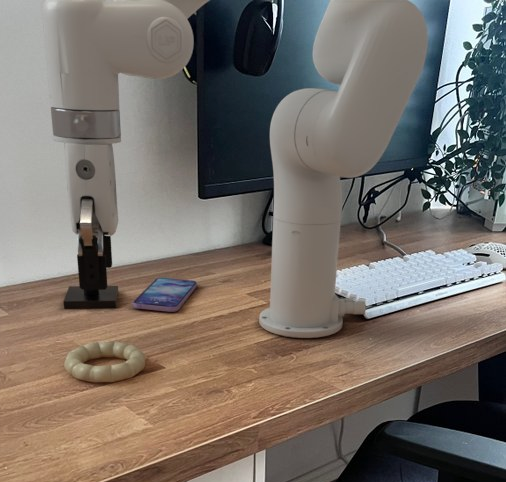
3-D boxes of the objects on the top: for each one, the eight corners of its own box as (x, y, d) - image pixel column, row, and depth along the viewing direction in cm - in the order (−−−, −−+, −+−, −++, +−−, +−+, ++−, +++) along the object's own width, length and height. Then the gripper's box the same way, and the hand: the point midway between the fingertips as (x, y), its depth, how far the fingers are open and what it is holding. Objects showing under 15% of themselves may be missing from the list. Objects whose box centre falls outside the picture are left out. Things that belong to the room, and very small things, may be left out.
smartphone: (198, 280, 119) (176, 308, 107) (198, 286, 120) (176, 313, 107) (157, 276, 120) (130, 303, 107) (157, 282, 121) (130, 309, 108)
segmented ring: (146, 352, 93) (145, 338, 92) (144, 383, 84) (143, 368, 83) (70, 354, 92) (68, 340, 91) (61, 386, 83) (59, 370, 82)
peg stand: (118, 292, 116) (115, 249, 112) (115, 308, 109) (112, 262, 105) (69, 293, 115) (64, 249, 111) (64, 308, 108) (58, 262, 104)
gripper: (116, 135, 71) (124, 298, 79) (123, 121, 85) (129, 260, 94) (41, 132, 70) (57, 298, 78) (61, 119, 85) (73, 259, 93)
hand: (96, 277), depth 86 cm, fingers open, 9 cm apart
